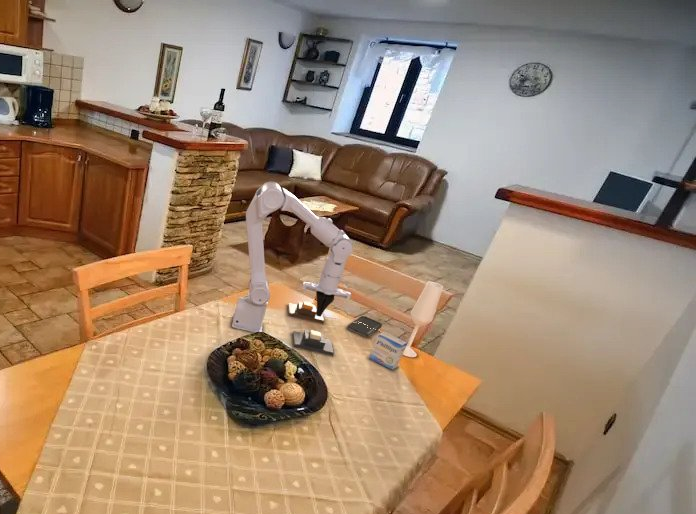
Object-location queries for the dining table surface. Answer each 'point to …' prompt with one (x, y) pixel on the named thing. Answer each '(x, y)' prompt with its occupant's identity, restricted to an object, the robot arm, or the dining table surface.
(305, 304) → the key back
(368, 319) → the phone
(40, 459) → the dining table surface
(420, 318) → the champagne flute
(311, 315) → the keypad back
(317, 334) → the key
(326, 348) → the grey stepped holder
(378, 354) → the medicine box
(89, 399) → the dining table surface
